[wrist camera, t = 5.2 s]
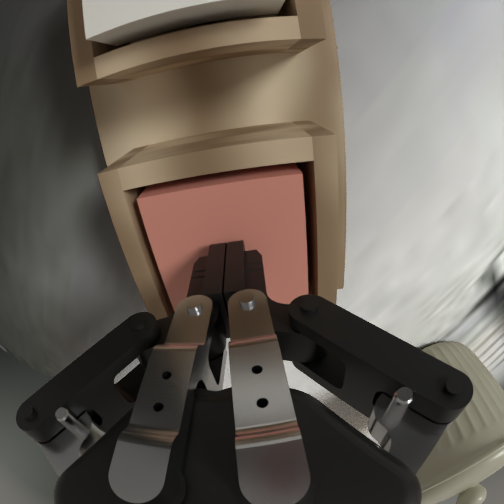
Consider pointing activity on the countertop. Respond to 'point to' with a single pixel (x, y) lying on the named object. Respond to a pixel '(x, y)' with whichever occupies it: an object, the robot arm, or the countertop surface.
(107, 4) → the white key
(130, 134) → the frame
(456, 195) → the countertop surface
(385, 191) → the countertop surface
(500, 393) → the canister
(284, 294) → the red key
